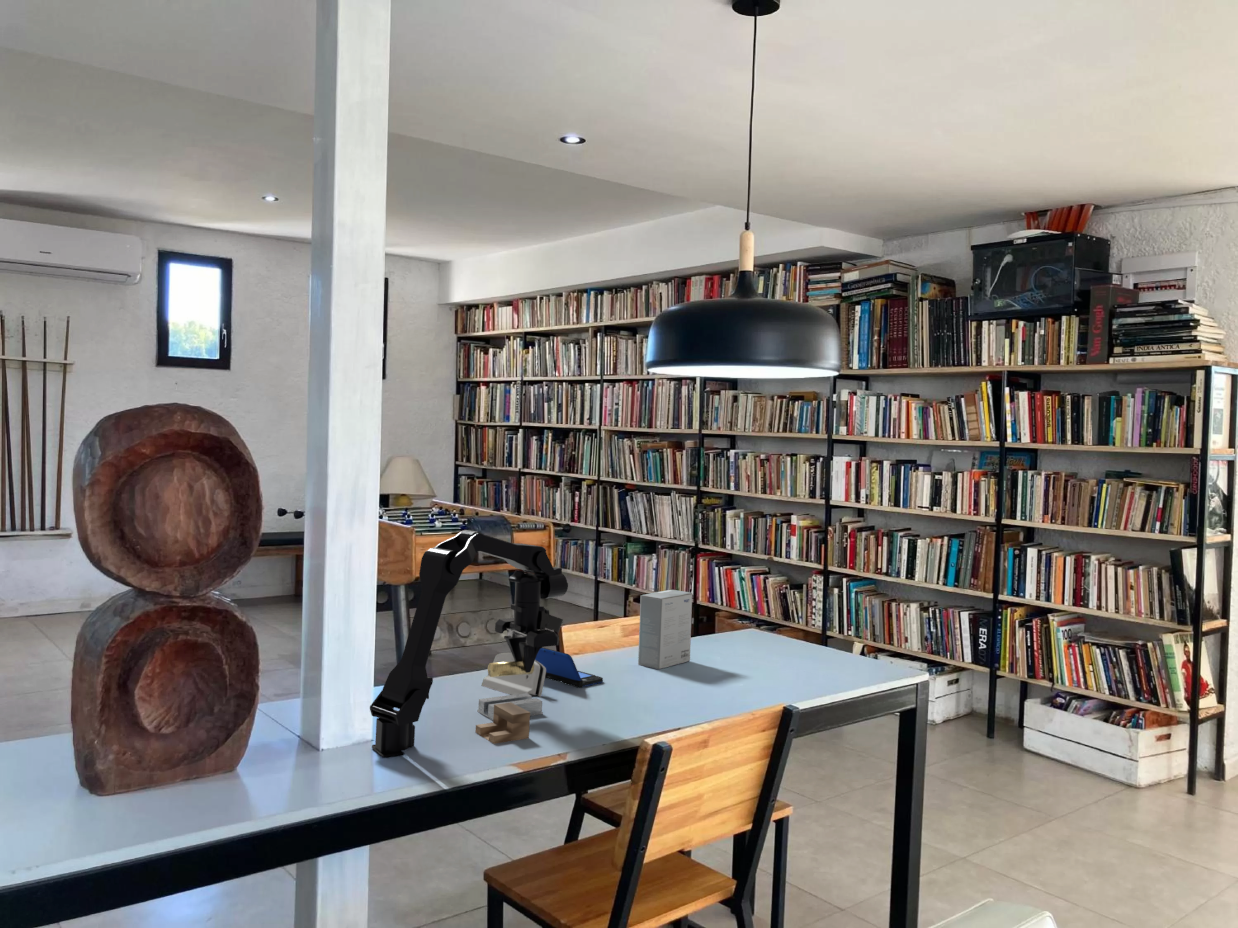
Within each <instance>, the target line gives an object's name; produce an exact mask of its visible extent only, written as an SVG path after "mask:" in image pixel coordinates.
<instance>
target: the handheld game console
mask: <svg viewBox="0 0 1238 928" xmlns="http://www.w3.org/2000/svg"><path fill="white" fill-rule="evenodd" d="M535 660H537V661H538V662H539V663H541V664H542V665H543V666H544V667H545V668H546V674H545V679H548V680H551V679H552V681H555V680H556V682H560V681H562V682H563V684H565V683H566V684H565V685H568V684H569V685H568V686H572V687H575V688H578V687H579V689H581V688H585V687H588V686H592V685H593V684H594V685H598V684H601V683H603V681H604V677H602V676H598V675H595V674H592V673H588V672H585V671H580V670H578V668H577V666H576V664H575V661H574V659H573V657H572V656H571V655H570V654H569V653H565V652H562V651H558V650H554V649H549V648H546V647H542V648H541V649H540V650H539V652H538V654H537V656H536V658H535ZM562 682H561V683H562ZM597 683H598V684H597ZM594 685H593V686H594Z"/></svg>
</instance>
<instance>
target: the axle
mask: <svg viewBox="0 0 1238 928" xmlns="http://www.w3.org/2000/svg"><path fill="white" fill-rule="evenodd" d="M533 671H534V664H533V666H532V669H531V672H528V673H526V672H525V669H524V665H523V661H512V662H497V663H493V662H489V664H488V665H487V675H488V674H489V676H490V677H497V676H510V675H523V674H532V673H533Z"/></svg>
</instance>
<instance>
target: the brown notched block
mask: <svg viewBox="0 0 1238 928" xmlns="http://www.w3.org/2000/svg"><path fill="white" fill-rule="evenodd" d="M530 719H531V716H530V712H528V711H526V710H524V709H523V708H521V707H519V706H517V705H515V704H513V703H511V702H510V703H503V704H496V705H494V716H493V720H492V722H486V723H479V724H475V733H476V734H477V735H479V737H482V738H483V739H485V740H486V741H488V742H490V743H491V744H493V745H495V744H502V743H507V742H513V741H519V740H526V739H530V726H531V725H530V723H531V722H530Z"/></svg>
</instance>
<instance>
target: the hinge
mask: <svg viewBox="0 0 1238 928" xmlns="http://www.w3.org/2000/svg"><path fill="white" fill-rule="evenodd" d="M512 661H515V660H514V657H513V655H512V653H511V652H501V653H497V654H496V655H495V656H494V659H493V662H492V663H497V662H512ZM545 674H546V668H545V667H544V666H543V665H542V664H541V663H539V662H538V661H537V660H535V661H534V671H533V673H532V674H523V675H510V676H497V677H490V676H489V674H488V673H487V675H486V676H485V677H484V678H483V680H482V683H481V686H482V687H484V688H487V689H491V690H494V691H497V692H501V693H504V694H507V695H515V694H523V693H527V694H529V695H531V696H537V697H542V696H543V695H542V693H543V690H544V689H543V688H544V684H545V679H546V678H545Z"/></svg>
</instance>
